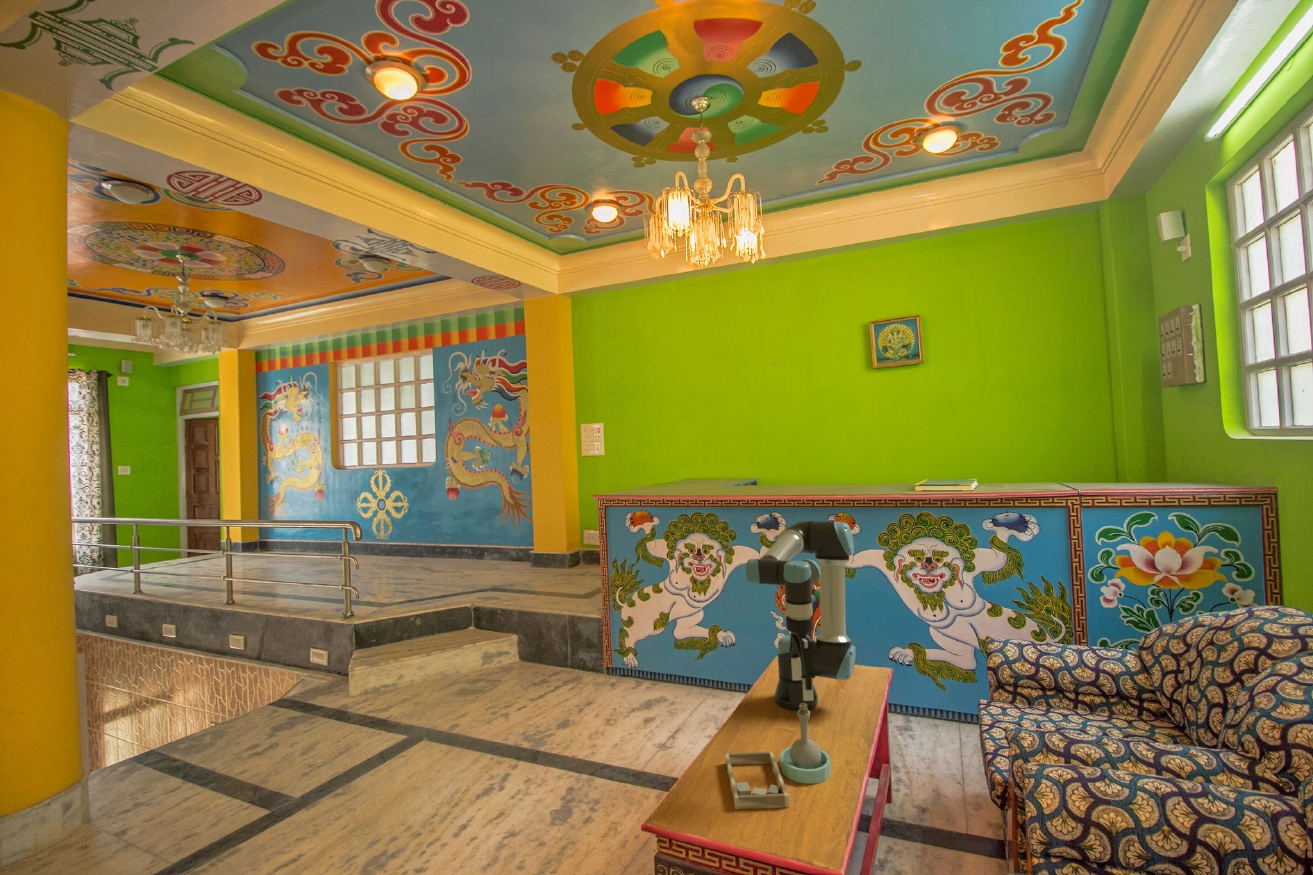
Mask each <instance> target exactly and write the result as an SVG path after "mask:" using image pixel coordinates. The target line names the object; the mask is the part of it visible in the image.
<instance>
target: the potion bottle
mask: <svg viewBox="0 0 1313 875" xmlns="http://www.w3.org/2000/svg"><path fill="white" fill-rule="evenodd" d="M799 709H800V710H796V714H797V717H798V719H799V724H800V725H799V728H800V738H797V739H795V740H794V742H793V743H792V745H791V746H792V747H791V751H790V756H791V760H792V762H793V765H794V766H795V767H797V768H802V769H816V768H818V767H820V762H821V752H820V749H821V748H820V747H819V746H818V744H817V742H816V741H815V740H813V739H812V738H809V722H808V721H809V720H810V717H811V711H810V710H809V709H808V705H807V704H806V703H801V704H800V705H799ZM819 748H820V749H819Z"/></svg>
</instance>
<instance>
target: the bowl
mask: <svg viewBox="0 0 1313 875" xmlns="http://www.w3.org/2000/svg"><path fill="white" fill-rule="evenodd" d="M791 747H792V745H791V746H787V747H786V748H783V750H782V751H781V752H780V755H779V763H780V764H779V766H780V768H779V769H780V770H781V771H780V772H781V774H783V776H784V777H786V778H787V779H789V780H792V781H793V782H796V783H801V784H807V785H811V784H820V783H823V782H825V781H827V780H828V779H829V778H830V777H831V775H832V759H831V757H830V755H829V752H826V751H825V750H823V749H822V748H820V747H819V749H820V752H821V762H820V767H818V768H816V769H802V768H797V767H795V766H794V765H793V762H792V760H791V756H790V751H791Z"/></svg>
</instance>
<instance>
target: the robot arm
mask: <svg viewBox="0 0 1313 875" xmlns="http://www.w3.org/2000/svg"><path fill="white" fill-rule="evenodd" d="M853 537H854V536H853V532H852V529H851V527H850V525H849V524H848V523H847V522H842V521H836V520H835V521H823V520H822V521H819V520H818V521H817V520H816V521H815V520H804V521H800V522H796V523H794V524H792V525H789V526H788V527H786V528H784V529H783V530H781V532H780V533H779V534H778V536H777V538H776V541H775V542H774V544H773V545H771V547H770V548H769V549H768V550H767V551H766V552H765V553H764V554H763V555H762V557H761V558H749V559H748V560H747V562H746V563H745V570H744V571H745V578H746V580H747V582H748V583H750V584H758V585H770V586H783V587H784V599H785V605H783V609H784V610H785V614H786V617H785V626H786V630H787V631H788V632H790V634H788V635H784V636H782V637H780V638H779V640H778V641H777V652H776V653H777V661H778V663H777V666H778V682H777V686H776V688H775V692H774V702H775V704H776V705H778V706H780V707H781V708H784V709H787V710H792V711H798V710H800V709H799V705H800V704H801V703H806V704H807V705H808V710H812V709H814V708H816V707H817V705H818V704H819V698H818V696H819V695H818V693H817V690H816V688H815V684H814V680H813V679H815V677H819V678H828V679H834V680H836V681H837V680H843V681H848V680H850V679H851V678H852V675H853V672H854V670H855V663H856V656H857V655H856V654H857V652H856V646H855V645H853V644H851V638H850V637H848V635H847V630H846V627H847V625H846V624H847V623H846V621H847V620H846V564H847V563H848V562H849V561H850V557H851V556H853V555H854V553H855V543H854V538H853ZM799 554H815V555H814V556H815V560H813V559H810V558H806V559H803V560H792V559H793V558H794V557H795V556H798V555H799ZM817 562H818V563H817ZM818 582H819V597H820V598H819V600H820V601H819V603H820V604H819V606H820V609H819V610H820V612H819V613H820V617H819V618H820V633H818V634H817V635H816V637H815V638H816V640H812V639H811V637H810V635H808V634H809V633H811V632H812V631H813V630H814V618H813V614H814V612H813V609H814V607H813V598H812V595H813V594H812V593H813V592H812V591H813V590H812V588H813V587H814V586H815V585H816V584H817V583H818Z"/></svg>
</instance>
